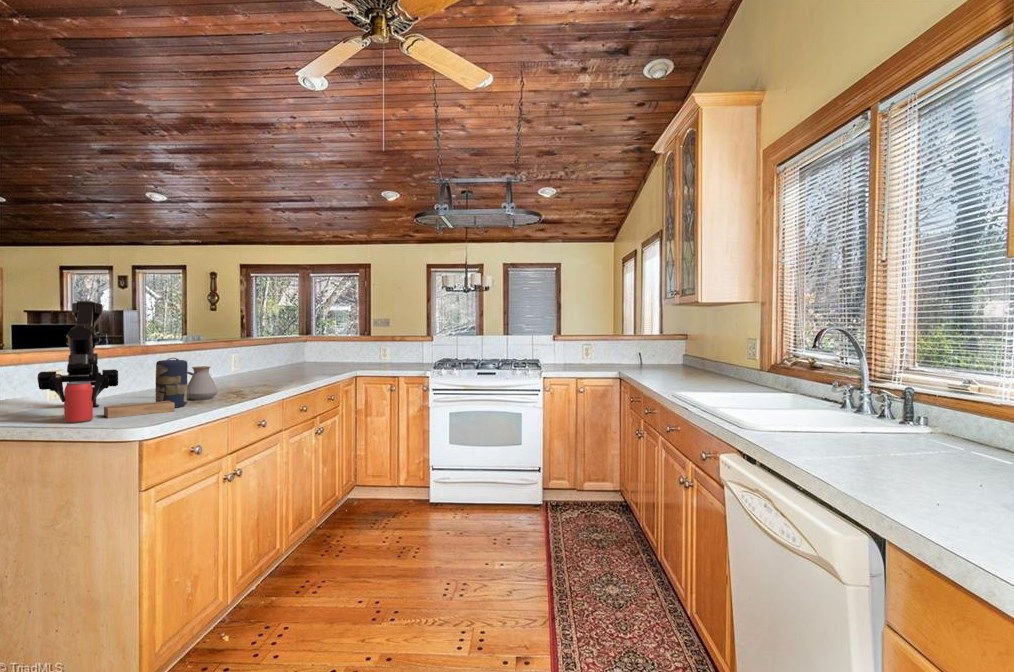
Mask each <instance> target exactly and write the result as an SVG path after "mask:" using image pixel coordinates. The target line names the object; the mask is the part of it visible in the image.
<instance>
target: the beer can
mask: <svg viewBox="0 0 1014 672" xmlns="http://www.w3.org/2000/svg"><path fill="white" fill-rule="evenodd" d="M92 387H93V386H92V385H91V382H89V381H78V382H66V386H65V387H64V389H63V391H64V402H63V403H64V404H63V405H64V407H63V411H64V412H63V414H64V415H63V420H64V423H68V424H79V423H86V421H87V422H90V421H92V420H93V418H94V407H93V399H92V398H93V388H92Z"/></svg>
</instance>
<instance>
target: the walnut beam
mask: <svg viewBox="0 0 1014 672" xmlns="http://www.w3.org/2000/svg"><path fill="white" fill-rule="evenodd" d="M175 408H176V407H175V403H174V402H171V401H161V402H156V401H153V402H143V403H127V404H119V405H118V404H117V405H108V406H106V405H105V406H103V416H104V417H105V416H106V417H105V418H107V417H108V418H107V419H111V418H110V417H116V418H122V417H121V416H126V417H132V416H131V415H135V416H142V415H141V414H145V415H150V414H149V413H155V414H161V413H162V412H164V413H171V412H172V411H174V412H175ZM172 413H173V412H172Z"/></svg>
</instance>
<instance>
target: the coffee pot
mask: <svg viewBox="0 0 1014 672" xmlns="http://www.w3.org/2000/svg"><path fill="white" fill-rule="evenodd" d="M191 369H192V370H193V372H190V371H188V370H187V375H190V376H191V378H190V379H189V382H188V383H187V399H189V400H191V401H205V400H211V399H213V397H216V395H217V394H218V388H217V385H215V382H214V381H213V378H212V376H211V373H210V372H209V371H210V369H211V366H192V367H191Z"/></svg>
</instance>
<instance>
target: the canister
mask: <svg viewBox="0 0 1014 672" xmlns="http://www.w3.org/2000/svg"><path fill="white" fill-rule="evenodd" d="M187 371H188V360H185V359H179V358H177V357H169V358H167V359H163V360H158V361H156V364H155V402H161V401H171V402H174V403H175V408H177V407H178V408H179V407H183V406H184V407H185V406H186V405H187V403H188V397H187V386H188V374H187Z"/></svg>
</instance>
